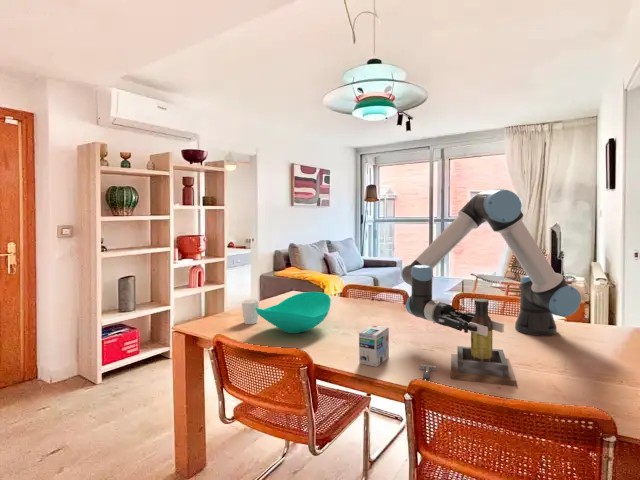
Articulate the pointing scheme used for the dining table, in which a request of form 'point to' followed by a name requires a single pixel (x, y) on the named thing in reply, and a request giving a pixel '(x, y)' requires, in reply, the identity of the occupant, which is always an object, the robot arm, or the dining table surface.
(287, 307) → the table top decor
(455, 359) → the grey square tray
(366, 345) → the light bulb box
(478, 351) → the sauce bottle
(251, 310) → the white cup
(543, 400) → the dining table surface
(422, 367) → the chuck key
